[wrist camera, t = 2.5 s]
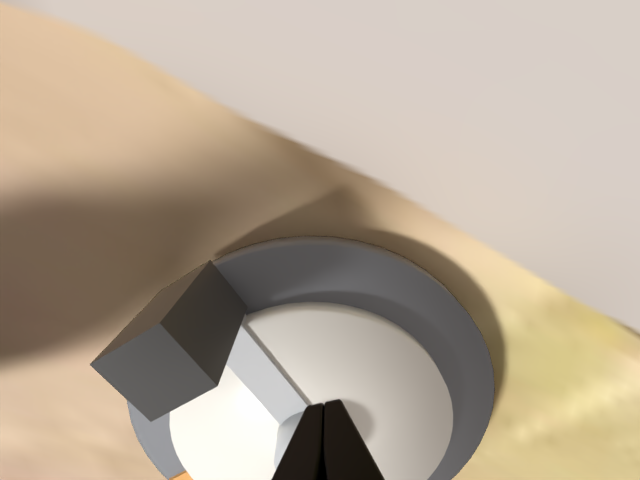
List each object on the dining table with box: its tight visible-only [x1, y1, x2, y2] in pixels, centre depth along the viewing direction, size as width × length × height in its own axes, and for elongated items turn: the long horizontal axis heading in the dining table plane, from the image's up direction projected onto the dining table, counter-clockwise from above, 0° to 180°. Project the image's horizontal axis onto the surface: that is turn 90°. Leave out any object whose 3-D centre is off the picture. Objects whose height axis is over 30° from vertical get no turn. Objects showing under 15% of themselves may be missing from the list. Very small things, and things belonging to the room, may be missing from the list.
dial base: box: [127, 236, 495, 480], centre depth 20 cm, size 22×22×2 cm
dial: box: [90, 260, 453, 480], centre depth 16 cm, size 20×16×6 cm
